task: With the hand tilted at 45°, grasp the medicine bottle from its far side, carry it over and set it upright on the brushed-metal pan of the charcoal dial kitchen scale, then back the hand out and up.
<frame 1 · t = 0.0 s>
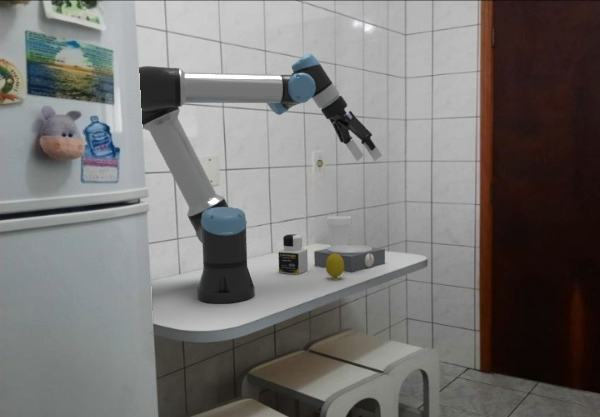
hand: (369, 158, 166), 36 cm above the table, tool tilted 35°, fingers open, 13 cm apart
clear plastic beaker: (339, 250, 210), on the table
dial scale: (349, 264, 182), on the table
medicine bottle: (293, 272, 173), on the table
lemon: (335, 279, 161), on the table
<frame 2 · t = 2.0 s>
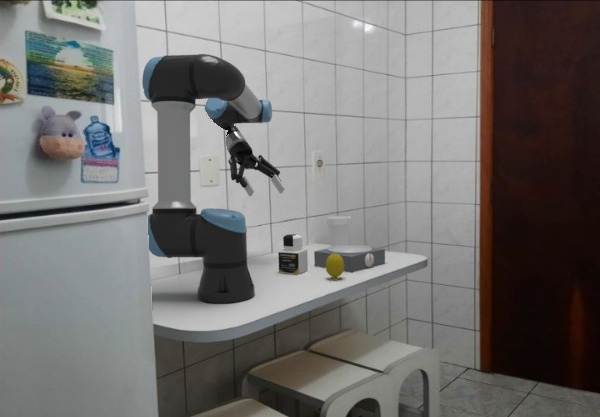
hand: (267, 192, 178), 25 cm above the table, tool tilted 45°, fingers open, 13 cm apart
nothing on the table moved.
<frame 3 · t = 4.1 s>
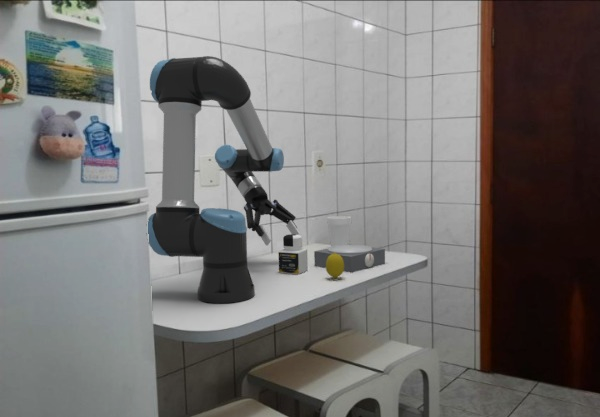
hand: (284, 240, 176), 10 cm above the table, tool tilted 45°, fingers open, 13 cm apart
nothing on the table moved.
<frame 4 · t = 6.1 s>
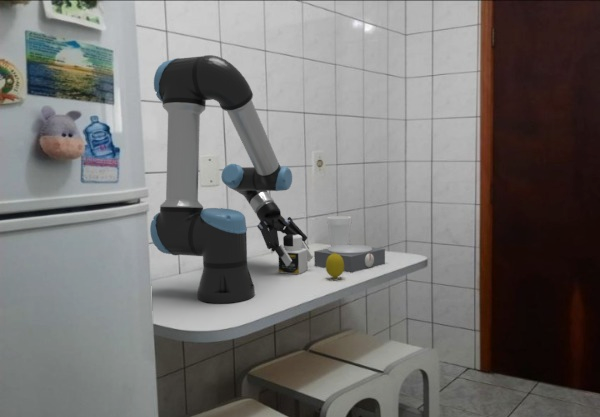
hand: (300, 261, 170), 4 cm above the table, tool tilted 45°, fingers closed on medicine bottle, 9 cm apart
medicine bottle: (293, 272, 173), on the table, touching gripper
everything else where it was.
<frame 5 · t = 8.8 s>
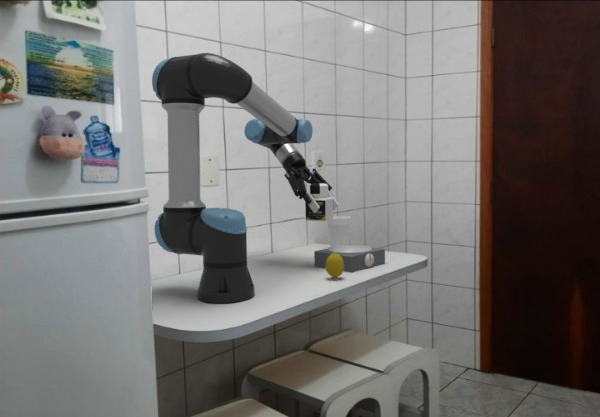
hand: (326, 208, 175), 20 cm above the table, tool tilted 45°, fingers closed on medicine bottle, 9 cm apart
medicine bottle: (319, 220, 177), point 16 cm above the table, touching gripper
everything else where it was.
when the fingers open (11 cm above the table, at t = 11.8 s): medicine bottle drops 1 cm, resting on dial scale.
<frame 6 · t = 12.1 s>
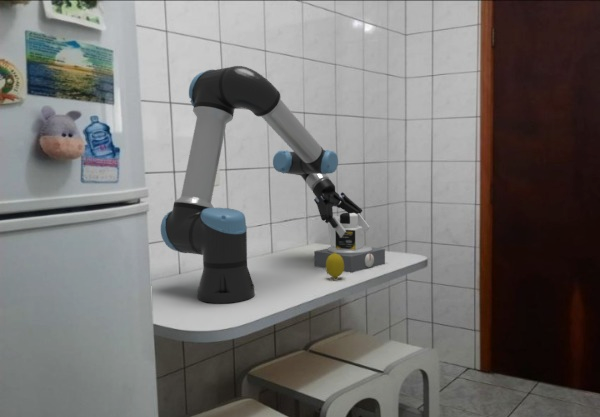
hand: (355, 232, 179), 11 cm above the table, tool tilted 45°, fingers open, 12 cm apart
medicine bottle: (349, 248, 181), point 5 cm above the table, touching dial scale
everything else where it was.
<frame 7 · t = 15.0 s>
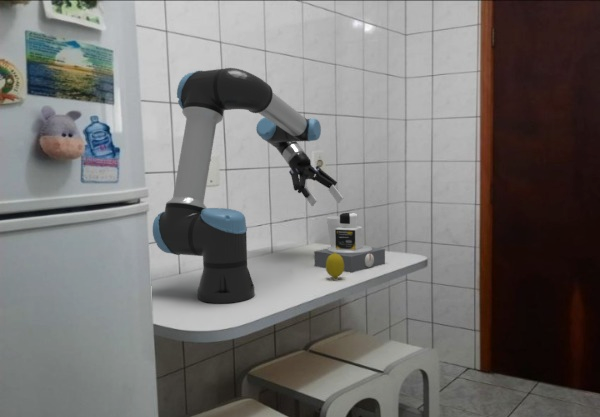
hand: (328, 202, 187), 21 cm above the table, tool tilted 45°, fingers open, 13 cm apart
nothing on the table moved.
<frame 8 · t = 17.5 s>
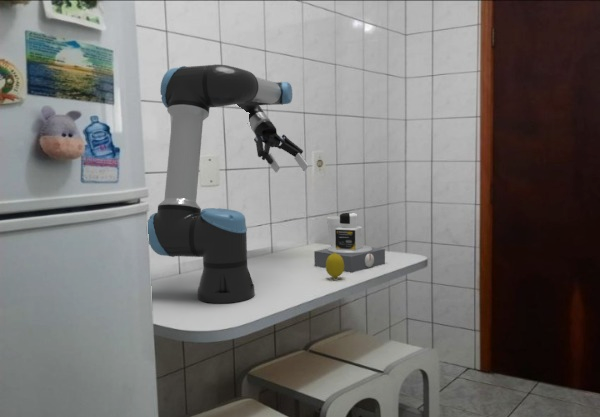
hand: (292, 169, 186), 33 cm above the table, tool tilted 45°, fingers open, 13 cm apart
nothing on the table moved.
at the end: medicine bottle inside the target area on the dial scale (0.2 cm from its centre), point 5.4 cm above the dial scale's base; medicine bottle tilted 0°; the gripper is holding nothing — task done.
